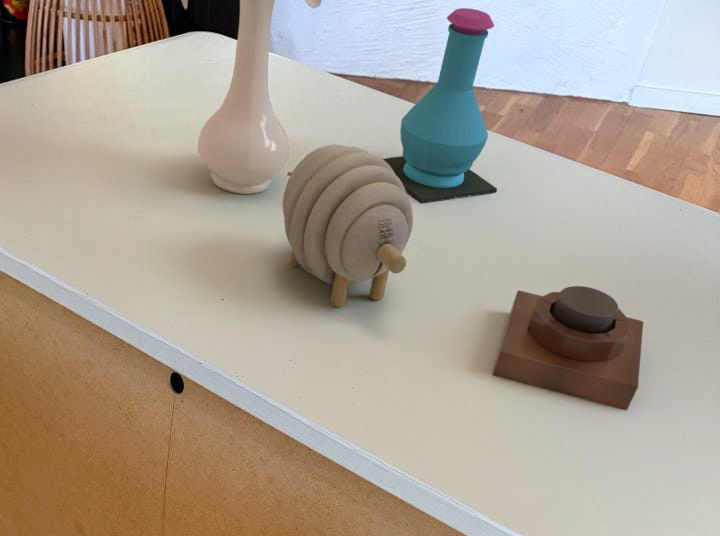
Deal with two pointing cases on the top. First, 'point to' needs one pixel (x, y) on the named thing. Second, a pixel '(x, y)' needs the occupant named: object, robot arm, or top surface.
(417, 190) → the coaster
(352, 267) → the toy sheep
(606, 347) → the button block
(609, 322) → the button
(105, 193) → the top surface
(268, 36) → the flower vase
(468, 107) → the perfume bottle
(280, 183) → the top surface
